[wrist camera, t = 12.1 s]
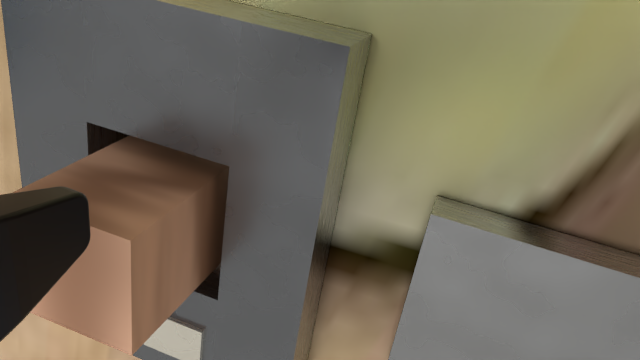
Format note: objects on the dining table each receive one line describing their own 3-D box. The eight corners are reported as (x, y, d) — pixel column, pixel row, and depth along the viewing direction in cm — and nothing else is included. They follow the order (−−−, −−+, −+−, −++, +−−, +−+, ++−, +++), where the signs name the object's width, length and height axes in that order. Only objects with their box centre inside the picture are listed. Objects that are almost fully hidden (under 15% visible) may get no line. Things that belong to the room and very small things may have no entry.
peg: (242, 156, 21) (130, 241, 15) (234, 248, 23) (131, 355, 17) (147, 126, 22) (6, 195, 16) (146, 218, 24) (21, 308, 18)
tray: (681, 267, 17) (693, 294, 16) (586, 432, 21) (590, 465, 20) (437, 195, 19) (430, 214, 18) (389, 358, 23) (381, 383, 22)
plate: (372, 33, 18) (348, 47, 15) (303, 377, 25) (280, 422, 23) (51, -41, 21) (-9, -38, 18) (74, 285, 28) (33, 316, 26)
